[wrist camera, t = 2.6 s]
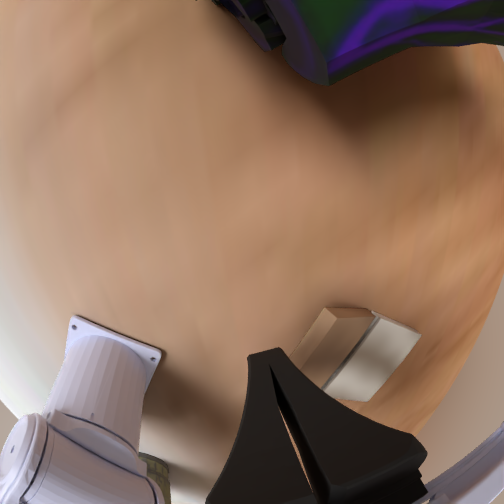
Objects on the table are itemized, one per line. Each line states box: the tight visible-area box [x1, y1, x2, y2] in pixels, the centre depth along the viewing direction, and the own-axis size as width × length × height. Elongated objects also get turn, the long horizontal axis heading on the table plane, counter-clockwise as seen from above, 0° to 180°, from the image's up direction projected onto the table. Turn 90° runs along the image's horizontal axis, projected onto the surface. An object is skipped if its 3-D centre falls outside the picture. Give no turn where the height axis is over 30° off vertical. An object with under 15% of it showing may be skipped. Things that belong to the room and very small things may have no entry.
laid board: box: [320, 311, 422, 402], centre depth 26 cm, size 10×8×1 cm
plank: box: [278, 307, 376, 410], centre depth 21 cm, size 10×8×1 cm
